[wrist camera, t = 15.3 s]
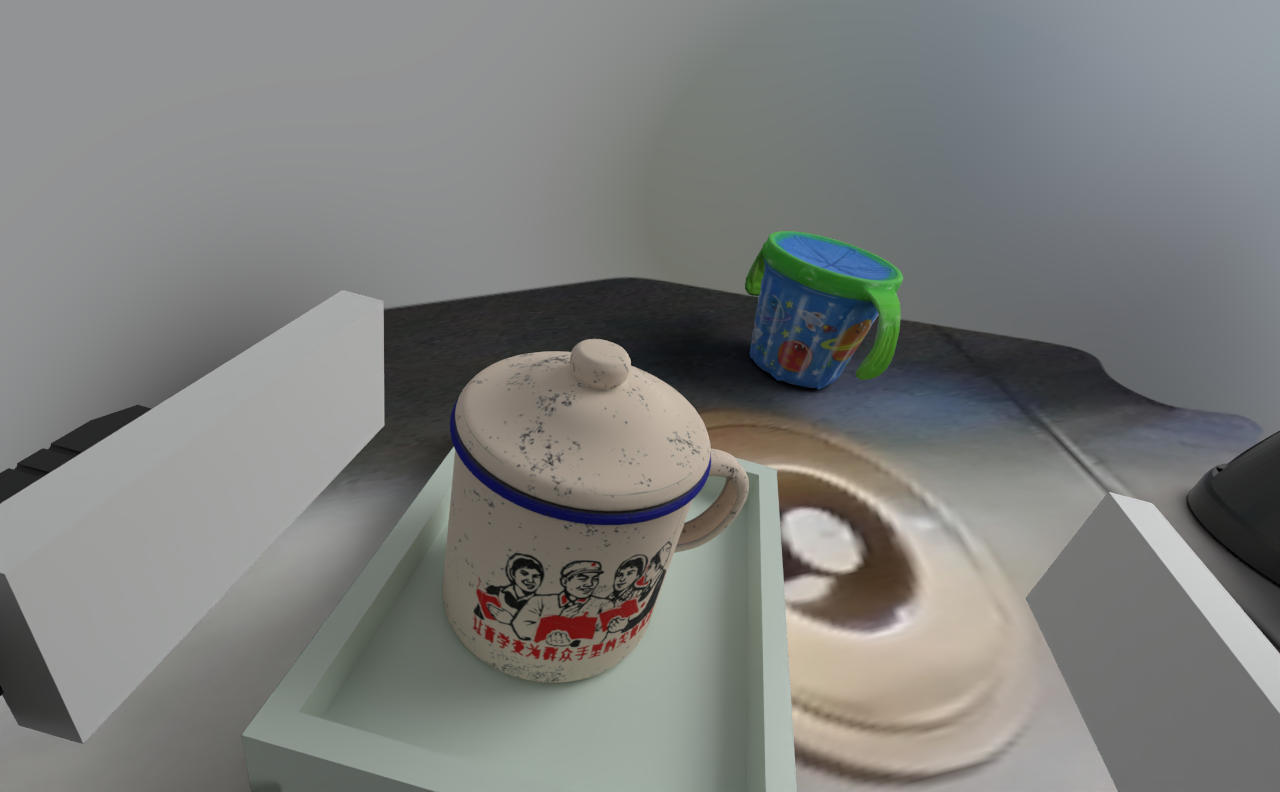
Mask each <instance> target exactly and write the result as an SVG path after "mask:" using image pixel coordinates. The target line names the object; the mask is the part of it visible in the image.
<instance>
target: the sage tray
mask: <svg viewBox="0 0 1280 792" xmlns="http://www.w3.org/2000/svg"><path fill="white" fill-rule="evenodd" d="M454 457H455V448H454V447H453V448H452V450H451V451H450V452H449V454H448V455H447V456H446V458H445V459H444V461H443V462H442V463H441V465H440V466H439V467H438V469H437V470H436V471H435V473H434V474H433V475H432V477H431V478H430V480H429V481H428V482H427V484H426V485H425V486H424V488H423V489H422V490H421V492H420V493H419V494H418V496H417V497H416V499H415V500H414V501H413V503H412V504H411V505H410V507H409V508H408V509H407V511H406V512H405V513H404V515H403V516H402V518H401V519H400V520H399V522H398V523H397V524H396V526H395V527H394V528H393V530H392V531H391V532H390V534H389V535H388V537H387V538H386V539H385V541H384V542H383V543H382V545H381V546H380V547H379V549H378V550H377V552H376V553H375V554H374V556H373V557H372V558H371V560H370V561H369V562H368V564H367V565H366V566H365V568H364V569H363V571H362V572H361V573H360V575H359V576H358V577H357V579H356V580H355V581H354V583H353V584H352V585H351V587H350V588H349V590H348V591H347V592H346V594H345V595H344V596H343V598H342V599H341V600H340V602H339V603H338V604H337V606H336V607H335V609H334V610H333V611H332V613H331V614H330V615H329V617H328V618H327V619H326V621H325V622H324V623H323V625H322V626H321V628H320V629H319V630H318V632H317V633H316V634H315V636H314V637H313V638H312V640H311V641H310V642H309V644H308V645H307V647H306V648H305V649H304V651H303V652H302V653H301V655H300V656H299V657H298V659H297V660H296V661H295V663H294V664H293V666H292V667H291V668H290V670H289V671H288V672H287V674H286V675H285V676H284V678H283V679H282V680H281V682H280V683H279V685H278V686H277V687H276V689H275V690H274V691H273V693H272V694H271V695H270V697H269V698H268V700H267V701H266V702H265V704H264V705H263V706H262V708H261V709H260V710H259V712H258V713H257V714H256V716H255V717H254V719H253V720H252V721H251V723H250V724H249V725H248V727H247V728H246V729H245V731H244V732H243V733H242V741H243V747H244V753H245V759H246V764H247V770H248V776H249V782H250V788H251V791H252V792H797V786H796V770H795V755H794V739H793V723H792V707H791V691H790V675H789V659H788V644H787V628H786V612H785V596H784V580H783V564H782V548H781V533H780V517H779V501H778V485H777V469H774V468H771V467H767V466H763V465H760V464H756V463H753V462H749V461H746V460H742V459H738V458H735V457H734V458H735V459H736V460H737V461H738V462H739V463H740V465H741V466H742V467H743V469H744V470H745V472H746V474H747V476H748V480H749V491H748V495H747V499H746V501H745V503H744V505H743V507H742V509H741V511H740V512H739V514H738V515H737V516H736V518H735V519H734V520H733V521H732V523H731V524H730V525H729V526H728V527H727V528H726V529H725V530H724V531H722V532H721V533H720V534H719V535H718V536H716V537H715V538H713V539H712V540H710V541H709V542H707V543H705V544H703V545H701V546H699V547H696V548H693V549H690V550H686V551H681V552H676V553H674V554H673V557H672V560H671V562H670V565H669V568H668V571H667V574H666V577H665V579H664V582H663V585H662V588H661V591H660V594H659V597H658V599H657V602H656V605H655V608H654V611H653V614H652V616H651V619H650V622H649V625H648V627H647V630H646V632H645V634H644V635H643V637H642V639H641V641H640V642H639V643H638V645H637V646H636V647H635V649H634V650H633V651H632V652H631V653H630V654H629V655H628V656H627V657H626V658H624V659H623V660H622V661H621V662H619V663H618V664H616V665H615V666H613V667H612V668H610V669H608V670H606V671H604V672H602V673H600V674H597V675H595V676H592V677H589V678H585V679H582V680H576V681H571V682H561V683H547V682H536V681H531V680H525V679H521V678H518V677H514V676H511V675H509V674H506V673H503V672H501V671H499V670H497V669H495V668H493V667H491V666H490V665H488V664H486V663H485V662H483V661H482V660H481V659H479V658H478V657H477V656H475V655H474V654H473V653H472V652H471V651H470V650H469V649H468V648H467V647H466V646H465V645H464V644H463V643H462V642H461V641H460V639H459V638H458V636H457V635H456V633H455V632H454V630H453V628H452V627H451V625H450V623H449V620H448V618H447V615H446V612H445V608H444V603H443V595H442V585H443V575H444V564H445V553H446V543H447V532H448V521H449V511H450V500H451V489H452V478H453V468H454ZM725 482H726V478H725V477H720V476H708V478H707V481H706V483H705V485H704V486H703V488H702V489H701V491H700V492H699V493H698V494H697V495H696V497H695V498H694V499H693V500H692V503H691V506H690V508H689V511H688V514H687V517H686V520H685V522H687V521H690V520H692V519H694V518H695V517H697V516H699V515H700V514H701V513H703V512H704V511H705V510H706V509H707V508H708V507H710V505H711V504H712V503H713V502H714V501H715V500H716V499H717V497H718V496H719V494H720V493H721V491H722V489H723V487H724V485H725Z"/></svg>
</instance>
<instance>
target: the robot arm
mask: <svg viewBox="0 0 1280 792" xmlns="http://www.w3.org/2000/svg"><path fill="white" fill-rule="evenodd" d="M383 426H384V319H383V301H382V300H378V299H374V298H370V297H367V296H363V295H359V294H355V293H351V292H348V291H344V290H342V291H340V292H339V293H337V294H336V295H334V296H332V297H331V298H329V299H328V300H326V301H324V302H323V303H321V304H320V305H318V306H316V307H315V308H313V309H312V310H310V311H308V312H307V313H305V314H304V315H302V316H300V317H299V318H297V319H296V320H294V321H292V322H291V323H289V324H288V325H286V326H284V327H283V328H281V329H279V330H278V331H276V332H275V333H273V334H271V335H270V336H268V337H267V338H265V339H263V340H262V341H260V342H259V343H257V344H256V345H254V346H252V347H251V348H249V349H247V350H246V351H244V352H243V353H241V354H239V355H238V356H236V357H235V358H233V359H231V360H230V361H228V362H227V363H225V364H224V365H222V366H220V367H219V368H217V369H216V370H214V371H212V372H211V373H209V374H207V375H206V376H204V377H203V378H201V379H199V380H198V381H196V382H195V383H193V384H191V385H190V386H188V387H187V388H185V389H184V390H182V391H180V392H179V393H177V394H175V395H174V396H172V397H171V398H169V399H167V400H166V401H164V402H163V403H161V404H159V405H158V406H156V407H155V408H153V409H151V408H147V407H143V406H140V405H136V406H133V407H130V408H127V409H124V410H121V411H118V412H115V413H112V414H109V415H106V416H103V417H100V418H97V419H94V420H91V421H89V422H87V423H85V424H84V425H82V426H80V427H79V428H77V429H75V430H74V431H72V432H70V433H68V434H67V435H65V436H63V437H62V438H60V439H58V440H56V441H55V442H53V443H51V446H50V448H49V449H41V450H39V451H38V452H36V453H34V454H32V455H31V456H29V457H28V458H25V459H24V460H22V461H20V462H19V463H17V467H16V468H15V469H7V470H5V471H3V472H2V473H0V696H1V695H3V697H4V699H5V701H6V703H7V705H8V706H9V708H10V710H11V712H12V714H13V716H14V717H15V719H16V721H17V723H18V725H20V726H23V727H26V728H30V729H33V730H37V731H40V732H44V733H47V734H51V735H54V736H58V737H61V738H65V739H68V740H71V741H75V742H78V743H82V744H84V743H85V742H86V741H87V740H88V739H89V737H90V736H91V735H92V734H93V733H94V732H95V731H96V730H97V729H98V728H99V727H100V726H101V725H102V724H103V723H104V722H105V721H106V719H107V718H108V717H109V716H110V715H111V714H112V713H113V712H114V711H115V710H116V709H117V708H118V707H119V706H120V705H121V704H122V703H123V701H124V700H125V699H126V698H127V697H128V696H129V695H130V694H131V693H132V692H133V691H134V690H135V689H136V688H137V687H138V686H139V685H140V683H141V682H142V681H143V680H144V679H145V678H146V677H147V676H148V675H149V674H150V673H151V672H152V671H153V670H154V669H155V668H156V667H157V665H158V664H159V663H160V662H161V661H162V660H163V659H164V658H165V657H166V656H167V655H168V654H169V653H170V652H171V651H172V650H173V649H174V647H175V646H176V645H177V644H178V643H179V642H180V641H181V640H182V639H183V638H184V637H185V636H186V635H187V634H188V633H189V632H190V631H191V629H192V628H193V627H194V626H195V625H196V624H197V623H198V622H199V621H200V620H201V619H202V618H203V617H204V616H205V615H206V614H207V613H208V611H209V610H210V609H211V608H212V607H213V606H214V605H215V604H216V603H217V602H218V601H219V600H220V599H221V598H222V597H223V596H224V595H225V593H226V592H227V591H228V590H229V589H230V588H231V587H232V586H233V585H234V584H235V583H236V582H237V581H238V580H239V579H240V578H241V577H242V575H243V574H244V573H245V572H246V571H247V570H248V569H249V568H250V567H251V566H252V565H253V564H254V563H255V562H256V561H257V560H258V559H259V557H260V556H261V555H262V554H263V553H264V552H265V551H266V550H267V549H268V548H269V547H270V546H271V545H272V544H273V543H274V542H275V541H276V539H277V538H278V537H279V536H280V535H281V534H282V533H283V532H284V531H285V530H286V529H287V528H288V527H289V526H290V525H291V524H292V523H293V521H294V520H295V519H296V518H297V517H298V516H299V515H300V514H301V513H302V512H303V511H304V510H305V509H306V508H307V507H308V506H309V505H310V503H311V502H312V501H313V500H314V499H315V498H316V497H317V496H318V495H319V494H320V493H321V492H322V491H323V490H324V489H325V488H326V487H327V485H328V484H329V483H330V482H331V481H332V480H333V479H334V478H335V477H336V476H337V475H338V474H339V473H340V472H341V471H342V470H343V469H344V467H345V466H346V465H347V464H348V463H349V462H350V461H351V460H352V459H353V458H354V457H355V456H356V455H357V454H358V453H359V452H360V451H361V449H362V448H363V447H364V446H365V445H366V444H367V443H368V442H369V441H370V440H371V439H372V438H373V437H374V436H375V435H376V434H377V433H378V431H379V430H380V429H381V428H382V427H383ZM1188 502H1189V505H1190V507H1191V509H1192V511H1193V513H1194V514H1195V515H1196V517H1197V518H1198V519H1199V521H1200V522H1201V523H1202V524H1203V525H1204V526H1205V527H1206V528H1207V529H1208V530H1209V531H1210V533H1212V534H1213V535H1214V536H1215V537H1216V538H1217V539H1218V540H1219V541H1220V542H1221V543H1223V544H1224V545H1225V546H1226V547H1227V548H1228V549H1230V550H1231V551H1232V552H1233V553H1235V554H1236V555H1237V556H1239V557H1240V558H1241V559H1243V560H1244V561H1245V562H1247V563H1248V564H1249V565H1251V566H1252V567H1254V568H1255V569H1256V570H1258V571H1259V572H1261V573H1262V574H1264V575H1265V576H1267V577H1268V578H1270V579H1271V580H1273V581H1275V582H1276V583H1278V584H1279V585H1280V431H1278V432H1277V433H1275V434H1273V435H1271V436H1269V437H1268V438H1266V439H1264V440H1263V441H1261V442H1259V443H1258V444H1256V445H1254V446H1253V447H1251V448H1249V449H1248V450H1246V451H1245V452H1243V453H1242V454H1240V455H1239V456H1237V457H1236V458H1235V459H1233V460H1232V461H1231V462H1229V463H1228V464H1221V465H1218V466H1216V467H1214V468H1212V469H1211V470H1210V471H1208V472H1207V473H1206V474H1205V475H1204V476H1203V477H1202V478H1201V480H1200V481H1199V482H1198V483H1197V484H1196V485H1195V486H1194V487H1193V489H1192V490H1191V491H1190V492H1189V494H1188ZM1026 600H1027V602H1028V604H1029V606H1030V608H1031V610H1032V612H1033V614H1034V617H1035V619H1036V621H1037V623H1038V625H1039V627H1040V629H1041V631H1042V633H1043V635H1044V637H1045V640H1046V642H1047V644H1048V646H1049V648H1050V650H1051V652H1052V654H1053V656H1054V658H1055V660H1056V662H1057V665H1058V667H1059V669H1060V671H1061V673H1062V675H1063V677H1064V679H1065V681H1066V683H1067V685H1068V688H1069V690H1070V692H1071V694H1072V696H1073V698H1074V700H1075V702H1076V704H1077V706H1078V708H1079V711H1080V713H1081V715H1082V717H1083V719H1084V721H1085V723H1086V725H1087V727H1088V729H1089V731H1090V733H1091V736H1092V738H1093V740H1094V742H1095V744H1096V746H1097V748H1098V750H1099V752H1100V754H1101V756H1102V759H1103V761H1104V763H1105V765H1106V767H1107V769H1108V771H1109V773H1110V775H1111V777H1112V779H1113V782H1114V784H1115V786H1116V788H1117V790H1118V792H1280V653H1279V652H1278V651H1277V650H1276V649H1275V647H1274V646H1273V645H1272V644H1271V643H1270V642H1269V640H1268V639H1267V638H1266V637H1265V636H1264V634H1263V633H1262V632H1261V631H1260V630H1259V628H1258V627H1257V626H1256V625H1255V624H1254V623H1253V621H1252V620H1251V619H1250V618H1249V617H1248V615H1247V614H1246V613H1245V612H1244V611H1243V610H1242V608H1241V607H1240V606H1239V605H1238V604H1237V602H1236V601H1235V600H1234V599H1233V598H1232V597H1231V595H1230V594H1229V593H1228V592H1227V591H1226V589H1225V588H1224V587H1223V586H1222V585H1221V584H1220V582H1219V581H1218V580H1217V579H1216V578H1215V576H1214V575H1213V574H1212V573H1211V572H1210V571H1209V569H1208V568H1207V567H1206V566H1205V565H1204V563H1203V562H1202V561H1201V560H1200V559H1199V558H1198V556H1197V555H1196V554H1195V553H1194V552H1193V550H1192V549H1191V548H1190V547H1189V546H1188V545H1187V543H1186V542H1185V541H1184V540H1183V539H1182V537H1181V536H1180V535H1179V534H1178V533H1177V531H1176V530H1175V529H1174V528H1173V527H1172V526H1171V524H1170V523H1169V522H1168V521H1167V520H1166V518H1165V517H1164V516H1163V515H1162V514H1161V513H1160V511H1159V510H1158V509H1157V508H1156V507H1155V505H1154V504H1153V503H1149V502H1146V501H1142V500H1138V499H1134V498H1130V497H1127V496H1123V495H1119V494H1115V493H1111V492H1108V494H1107V495H1106V496H1105V497H1104V499H1103V500H1102V501H1101V503H1100V504H1099V505H1098V506H1097V508H1096V509H1095V510H1094V511H1093V513H1092V514H1091V515H1090V517H1089V518H1088V519H1087V520H1086V522H1085V523H1084V524H1083V525H1082V527H1081V528H1080V529H1079V531H1078V532H1077V533H1076V534H1075V536H1074V537H1073V538H1072V540H1071V541H1070V542H1069V543H1068V545H1067V546H1066V547H1065V548H1064V550H1063V551H1062V552H1061V554H1060V555H1059V556H1058V557H1057V559H1056V560H1055V561H1054V563H1053V564H1052V565H1051V566H1050V568H1049V569H1048V570H1047V571H1046V573H1045V574H1044V575H1043V577H1042V578H1041V579H1040V580H1039V582H1038V583H1037V584H1036V586H1035V587H1034V588H1033V589H1032V591H1031V592H1030V593H1029V594H1028V596H1027V597H1026Z"/></svg>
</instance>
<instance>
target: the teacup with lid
mask: <svg viewBox="0 0 1280 792" xmlns="http://www.w3.org/2000/svg"><path fill="white" fill-rule="evenodd" d="M450 433H451V439H452V442H453V445H454V448H455V457H454V468H453V478H452V489H451V500H450V511H449V521H448V532H447V543H446V553H445V564H444V575H443V585H442V595H443V603H444V608H445V612H446V615H447V618H448V620H449V623H450V625H451V627H452V628H453V630H454V632H455V633H456V635H457V636H458V638H459V639H460V641H461V642H462V643H463V644H464V645H465V646H466V647H467V648H468V649H469V650H470V651H471V652H472V653H473V654H474V655H475V656H477V657H478V658H479V659H481V660H482V661H483V662H485V663H486V664H488V665H490V666H491V667H493V668H495V669H497V670H499V671H501V672H503V673H506V674H509V675H511V676H514V677H518V678H521V679H525V680H531V681H536V682H547V683H561V682H571V681H576V680H582V679H585V678H589V677H592V676H595V675H597V674H600V673H602V672H604V671H606V670H608V669H610V668H612V667H613V666H615V665H616V664H618V663H619V662H621V661H622V660H623V659H624V658H626V657H627V656H628V655H629V654H630V653H631V652H632V651H633V650H634V649H635V647H636V646H637V645H638V643H639V642H640V641H641V639H642V637H643V635H644V634H645V632H646V630H647V627H648V625H649V622H650V619H651V616H652V614H653V611H654V608H655V605H656V602H657V599H658V597H659V594H660V591H661V588H662V585H663V582H664V579H665V577H666V574H667V571H668V568H669V565H670V562H671V560H672V557H673V554H674V553H676V552H681V551H686V550H690V549H693V548H696V547H699V546H701V545H703V544H705V543H707V542H709V541H710V540H712V539H713V538H715V537H716V536H718V535H719V534H720V533H721V532H722V531H724V530H725V529H726V528H727V527H728V526H729V525H730V524H731V523H732V521H733V520H734V519H735V518H736V516H737V515H738V514H739V512H740V511H741V509H742V507H743V505H744V503H745V501H746V499H747V495H748V491H749V480H748V476H747V474H746V472H745V470H744V469H743V467H742V466H741V465H740V463H739V462H738V461H737V460H736V459H735V458H734V457H733V456H731V455H730V454H728V453H726V452H724V451H720V450H715V449H711V448H710V440H709V436H708V433H707V430H706V427H705V425H704V423H703V421H702V419H701V417H700V416H699V414H698V413H697V411H696V410H695V408H694V407H693V406H692V405H691V404H690V403H689V402H688V401H687V400H686V399H685V398H684V397H683V396H682V395H681V394H680V393H679V392H677V391H676V390H675V389H674V388H672V387H671V386H669V385H668V384H666V383H665V382H663V381H662V380H660V379H658V378H657V377H655V376H653V375H651V374H649V373H647V372H645V371H643V370H641V369H638V368H636V367H633V366H631V360H630V358H629V355H628V354H627V352H626V351H625V350H624V349H623V348H622V347H620V346H619V345H617V344H615V343H612V342H609V341H606V340H600V339H588V340H584V341H582V342H580V343H578V344H577V345H576V346H575V347H574V348H573V350H572V352H558V351H554V352H536V353H528V354H523V355H518V356H514V357H510V358H507V359H504V360H501V361H499V362H497V363H495V364H492V365H491V366H489V367H487V368H485V369H484V370H482V371H481V372H480V373H478V374H477V375H476V376H475V377H474V378H473V379H472V380H471V381H470V382H469V383H468V384H467V385H466V387H465V388H464V389H463V391H462V392H461V394H460V396H459V398H458V400H457V401H456V403H455V405H454V408H453V410H452V414H451V419H450ZM708 476H720V477H725V478H726V482H725V485H724V487H723V489H722V491H721V493H720V494H719V496H718V497H717V499H716V500H715V501H714V502H713V503H712V504H711V505H710V507H708V508H707V509H706V510H705V511H704V512H703V513H701V514H700V515H699V516H697V517H695V518H694V519H692V520H690V521H687V522H685V520H686V517H687V514H688V511H689V508H690V506H691V503H692V500H693V499H694V498H695V497H696V495H697V494H698V493H699V492H700V491H701V489H702V488H703V486H704V485H705V483H706V481H707V478H708Z"/></svg>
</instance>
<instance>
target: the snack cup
mask: <svg viewBox="0 0 1280 792" xmlns="http://www.w3.org/2000/svg"><path fill="white" fill-rule="evenodd" d="M902 280H903V276H902V274H901V272H900V271H899V270H898V269H897V268H896V267H895V266H894V265H892V264H891V263H889V262H888V261H886V260H884V259H882V258H881V257H879V256H877V255H875V254H873V253H870V252H868V251H866V250H863V249H861V248H858V247H855V246H853V245H850V244H847V243H844V242H841V241H837V240H834V239H830V238H827V237H823V236H818V235H814V234H809V233H802V232H792V231H782V232H775V233H772V234H771V235H769V237H768V240H767V241H766V242H765V243H764V245H763V248H762V249H761V251H760V253H759V254H758V256H757V258H756V260H755V262H754V263H753V265H752V267H751V269H750V271H749V273H748V276H747V277H746V283H745V289H746V291H747V292H748V294H750V295H755V296H759V298H758V306H757V311H756V316H755V323H754V329H753V333H752V342H751V348H750V358H751V359H753V360H754V362H755V363H756V365H757V366H758V367H760V368H761V369H762V370H764V371H766V372H767V373H769V374H771V375H772V376H773V377H774V378H775V379H776V380H778V381H784V382H786V383H790V384H793V385H797V386H802V387H810V388H816V389H821V388H825V387H826V386H827V385H829V384H831V383H833V382H834V381H836V379H837V378H838V377H839V376H840V374H841V372H842V371H843V369H844V367H845V366H846V365H847V363H848V362H849V360H850V358H851V357H852V355H853V354H854V352H855V351H856V349H857V347H858V346H859V344H860V343H861V341H862V340H863V338H864V337H865V335H866V334H867V332H868V330H869V329H870V327H871V325H872V324H873V322H874V321H875V319H876V318H877V316H878V314H879V321H878V326H877V333H876V338H875V343H874V346H873V349H872V350H871V352H870V353H869V354H868V355H867V357H866V358H865V359H864V360H863V362H862V363H861V365H860V366H859V368H858V369H857V371H856V376H857V377H858V378H859V379H861V380H865V379H872V378H875V377H877V376H879V375H880V374H882V373H883V372H884V371H885V370H886V369H887V367H888V366H889V364H890V362H891V360H892V357H893V354H894V351H895V348H896V343H897V339H898V334H899V327H900V316H901V312H900V310H901V309H900V304H899V299H898V297H897V295H896V292H897V290H898V289H899V287H900V285H901V283H902Z"/></svg>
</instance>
